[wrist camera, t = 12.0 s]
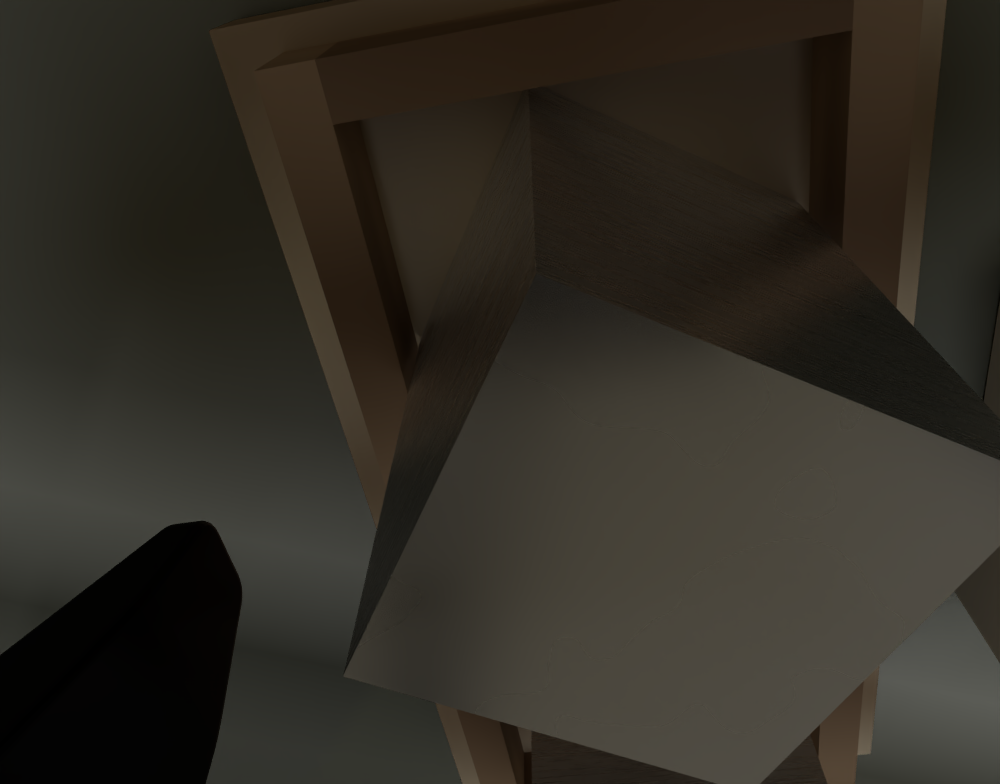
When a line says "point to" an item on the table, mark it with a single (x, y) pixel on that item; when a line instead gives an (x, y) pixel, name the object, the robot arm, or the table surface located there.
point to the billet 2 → (645, 766)
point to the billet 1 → (664, 463)
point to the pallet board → (477, 138)
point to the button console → (996, 582)
